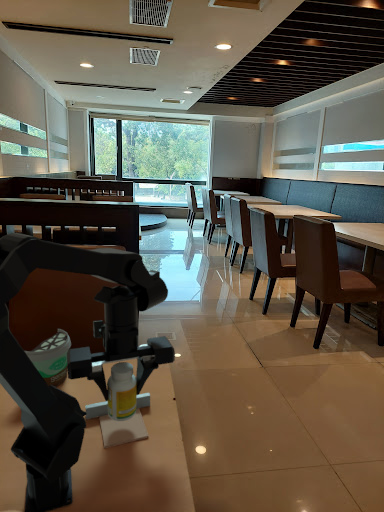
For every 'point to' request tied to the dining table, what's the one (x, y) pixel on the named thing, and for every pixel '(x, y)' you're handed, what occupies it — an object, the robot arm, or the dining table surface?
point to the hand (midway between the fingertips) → (122, 396)
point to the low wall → (102, 407)
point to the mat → (122, 430)
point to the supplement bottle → (122, 392)
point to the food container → (52, 358)
